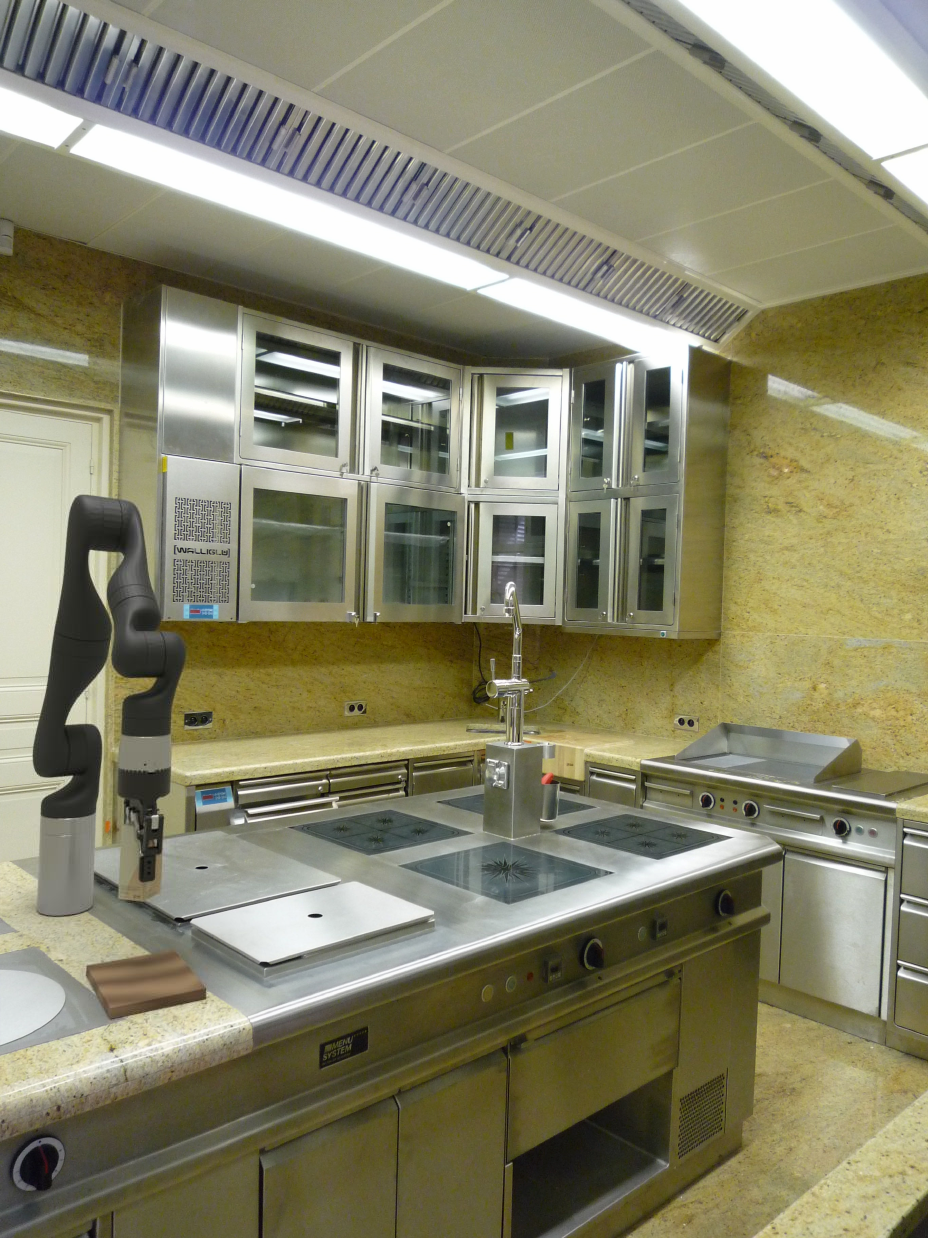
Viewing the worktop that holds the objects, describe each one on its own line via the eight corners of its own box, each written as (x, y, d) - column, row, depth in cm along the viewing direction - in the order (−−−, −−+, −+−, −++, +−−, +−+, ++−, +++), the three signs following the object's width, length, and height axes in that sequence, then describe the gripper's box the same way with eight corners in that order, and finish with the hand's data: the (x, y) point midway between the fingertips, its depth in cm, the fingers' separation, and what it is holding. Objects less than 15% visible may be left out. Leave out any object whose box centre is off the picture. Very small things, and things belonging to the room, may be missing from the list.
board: (85, 975, 131) (86, 965, 131) (173, 959, 139) (174, 950, 139) (110, 1019, 118) (110, 1008, 118) (205, 998, 125) (206, 988, 125)
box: (143, 903, 129) (146, 827, 129) (116, 899, 130) (119, 825, 130) (162, 892, 134) (165, 819, 134) (136, 889, 135) (139, 817, 135)
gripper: (107, 757, 136) (103, 865, 136) (130, 774, 124) (126, 892, 124) (157, 754, 140) (153, 859, 140) (184, 770, 128) (179, 884, 128)
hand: (140, 874), depth 132 cm, fingers closed on box, 6 cm apart
